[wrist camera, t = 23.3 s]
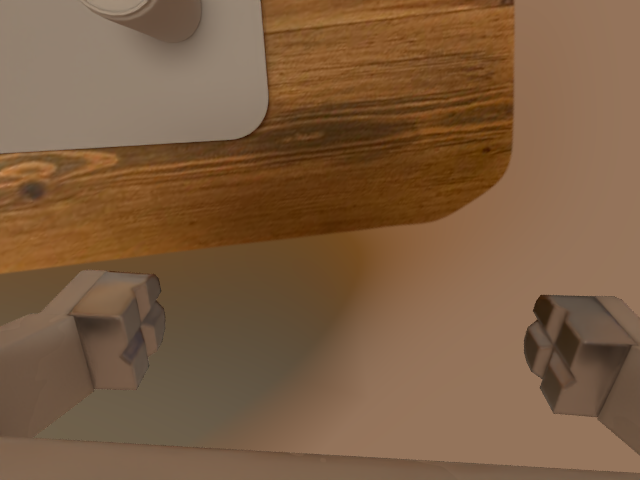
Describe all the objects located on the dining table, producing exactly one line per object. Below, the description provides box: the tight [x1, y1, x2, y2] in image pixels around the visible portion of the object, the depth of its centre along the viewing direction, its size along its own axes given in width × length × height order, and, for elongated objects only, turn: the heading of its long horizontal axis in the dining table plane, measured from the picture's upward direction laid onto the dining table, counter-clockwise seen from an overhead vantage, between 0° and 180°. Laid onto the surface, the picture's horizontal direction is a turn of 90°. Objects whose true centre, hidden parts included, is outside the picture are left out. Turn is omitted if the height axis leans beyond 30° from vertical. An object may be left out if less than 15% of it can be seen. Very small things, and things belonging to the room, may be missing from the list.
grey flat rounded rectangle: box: [0, 0, 269, 153], centre depth 33 cm, size 16×26×2 cm, turn 93°
